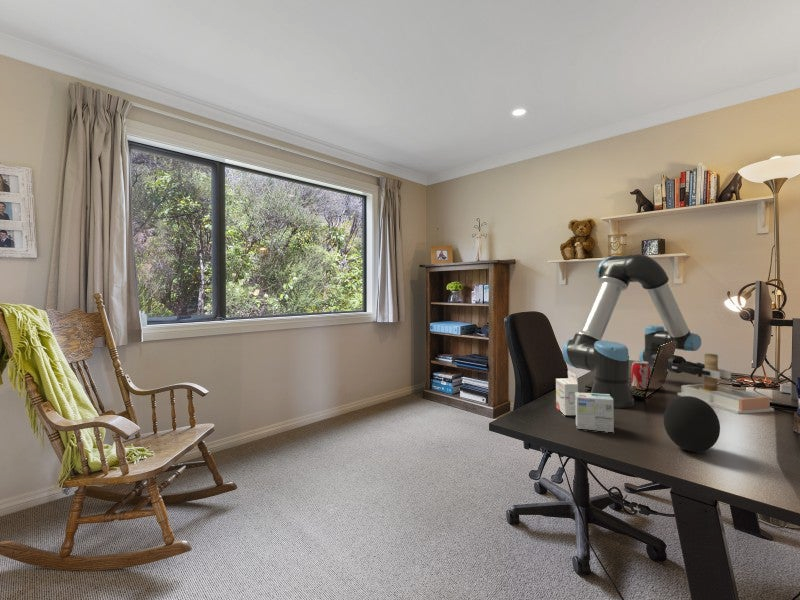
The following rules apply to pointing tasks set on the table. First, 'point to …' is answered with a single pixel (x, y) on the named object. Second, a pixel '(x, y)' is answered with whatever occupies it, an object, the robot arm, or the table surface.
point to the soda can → (640, 373)
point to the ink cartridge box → (566, 394)
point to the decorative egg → (691, 424)
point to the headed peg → (710, 382)
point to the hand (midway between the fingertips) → (724, 375)
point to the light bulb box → (594, 411)
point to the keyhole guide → (729, 399)
